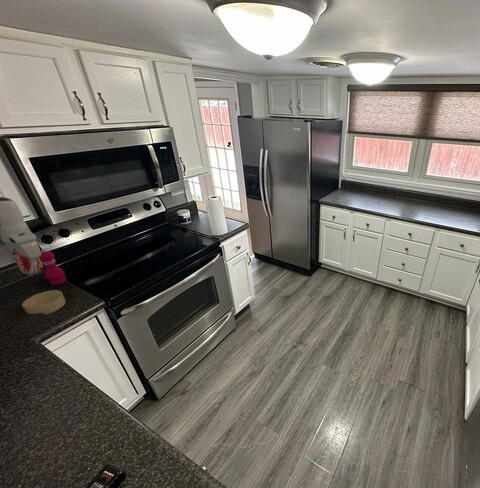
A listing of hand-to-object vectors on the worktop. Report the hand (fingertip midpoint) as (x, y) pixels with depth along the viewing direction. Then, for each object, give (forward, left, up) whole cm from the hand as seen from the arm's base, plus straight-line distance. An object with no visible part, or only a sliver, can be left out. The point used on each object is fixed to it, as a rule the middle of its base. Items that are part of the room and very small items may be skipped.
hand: (29, 262), depth 118 cm
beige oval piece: (-3, -4, -23) cm, 23 cm away
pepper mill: (+11, +18, -23) cm, 31 cm away
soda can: (0, 0, -5) cm, 5 cm away
